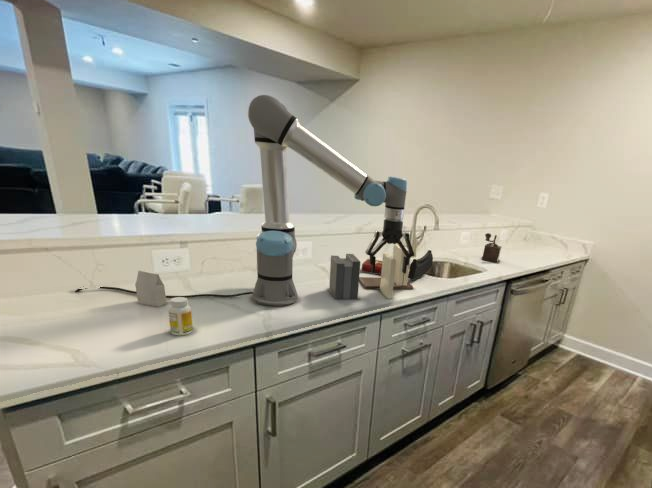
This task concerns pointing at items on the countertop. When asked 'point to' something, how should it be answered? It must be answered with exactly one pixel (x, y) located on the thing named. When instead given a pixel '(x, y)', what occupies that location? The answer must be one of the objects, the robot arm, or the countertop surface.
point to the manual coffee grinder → (491, 250)
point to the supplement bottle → (180, 316)
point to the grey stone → (150, 289)
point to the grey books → (344, 277)
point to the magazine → (420, 266)
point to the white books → (400, 266)
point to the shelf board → (375, 283)
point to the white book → (387, 275)
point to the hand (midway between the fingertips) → (388, 272)
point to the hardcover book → (367, 266)
